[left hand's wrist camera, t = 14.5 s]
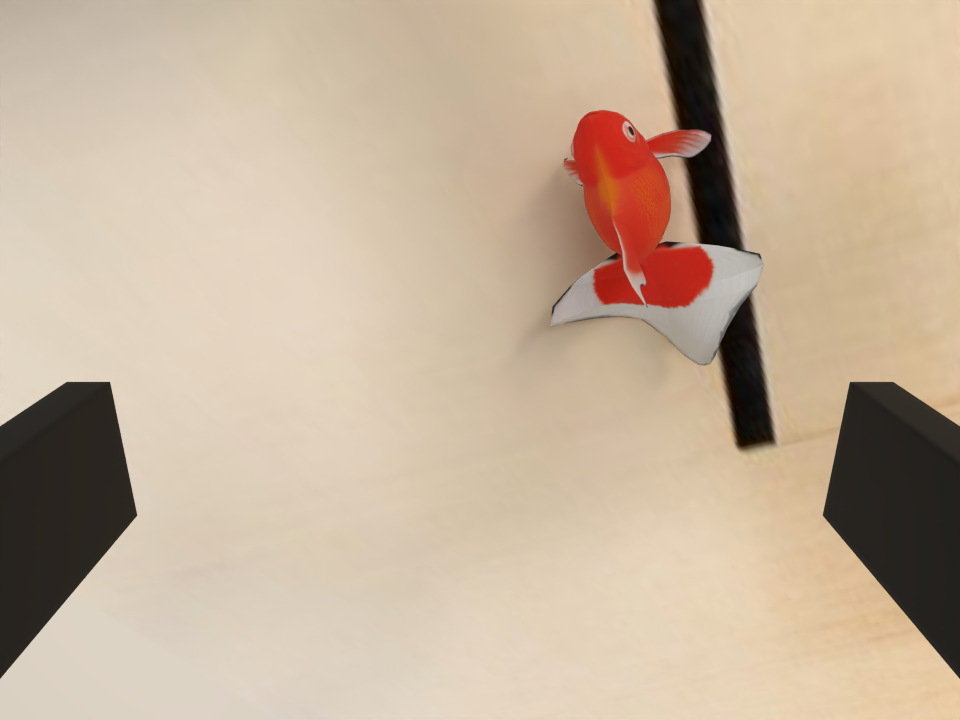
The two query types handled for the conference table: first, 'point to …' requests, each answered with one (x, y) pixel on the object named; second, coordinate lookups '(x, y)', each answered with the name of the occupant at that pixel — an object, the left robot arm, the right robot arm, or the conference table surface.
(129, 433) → the conference table surface
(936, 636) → the left robot arm
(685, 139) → the fish
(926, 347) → the conference table surface
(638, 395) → the conference table surface
